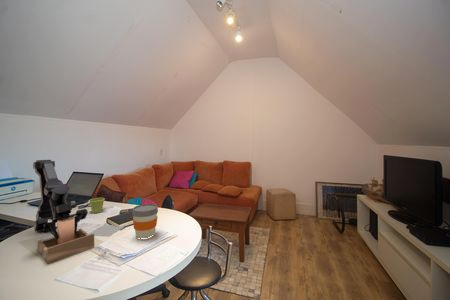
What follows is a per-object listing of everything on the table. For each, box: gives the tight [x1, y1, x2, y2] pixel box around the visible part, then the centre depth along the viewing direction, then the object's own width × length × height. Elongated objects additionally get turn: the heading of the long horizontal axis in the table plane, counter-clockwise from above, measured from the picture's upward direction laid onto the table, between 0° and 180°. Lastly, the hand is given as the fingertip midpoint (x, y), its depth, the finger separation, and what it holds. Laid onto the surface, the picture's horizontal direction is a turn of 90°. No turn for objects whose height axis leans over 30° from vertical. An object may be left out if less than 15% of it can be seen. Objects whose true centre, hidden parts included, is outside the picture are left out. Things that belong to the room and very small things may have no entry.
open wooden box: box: [36, 228, 95, 265], centre depth 89 cm, size 18×16×7 cm
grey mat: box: [88, 224, 126, 238], centre depth 107 cm, size 13×13×1 cm
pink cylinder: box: [56, 217, 75, 245], centre depth 88 cm, size 6×6×13 cm
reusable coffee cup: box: [131, 203, 159, 239], centre depth 103 cm, size 13×13×15 cm
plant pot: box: [88, 197, 106, 214], centre depth 138 cm, size 9×9×9 cm
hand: (67, 235), depth 88 cm, fingers closed on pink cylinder, 6 cm apart
